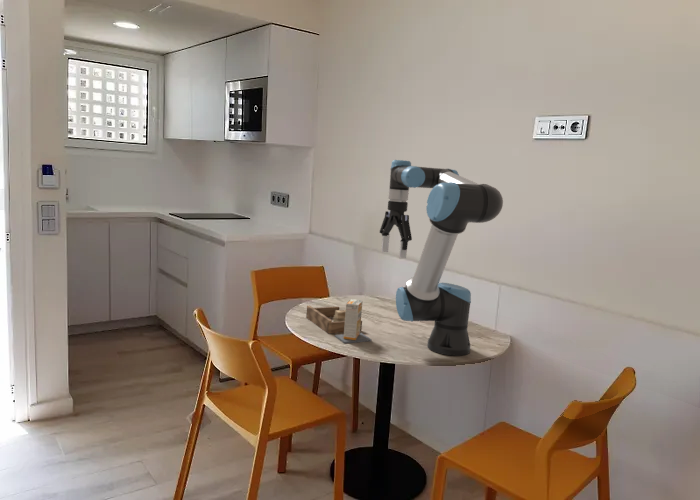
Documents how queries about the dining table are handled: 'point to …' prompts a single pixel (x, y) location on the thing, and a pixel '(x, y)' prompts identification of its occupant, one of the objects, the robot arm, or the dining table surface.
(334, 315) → the offcut lower
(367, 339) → the mat
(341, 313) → the offcut upper
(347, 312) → the supplement box
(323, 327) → the wooden tray
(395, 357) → the dining table surface
